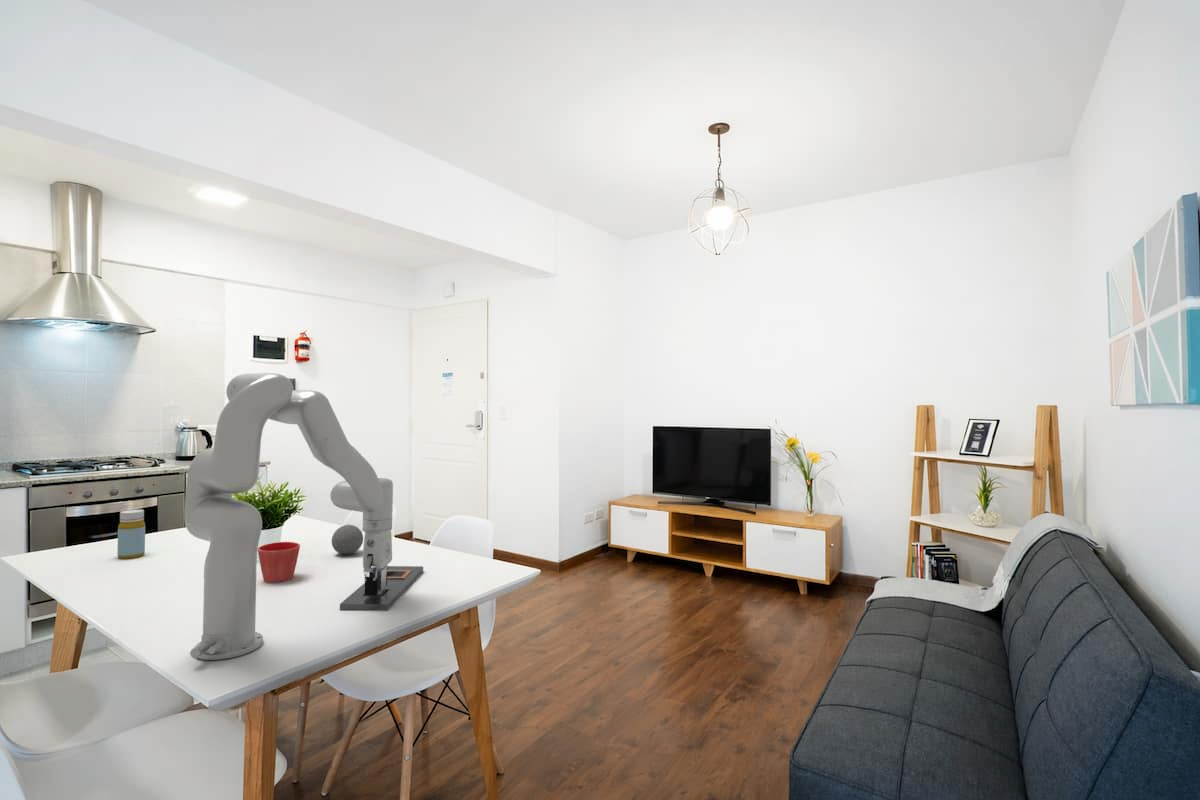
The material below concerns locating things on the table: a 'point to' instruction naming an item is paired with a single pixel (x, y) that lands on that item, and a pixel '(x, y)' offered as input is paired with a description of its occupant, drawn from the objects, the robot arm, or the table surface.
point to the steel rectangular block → (381, 581)
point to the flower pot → (278, 560)
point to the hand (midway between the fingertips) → (376, 589)
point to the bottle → (131, 534)
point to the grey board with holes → (396, 586)
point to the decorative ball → (347, 539)
